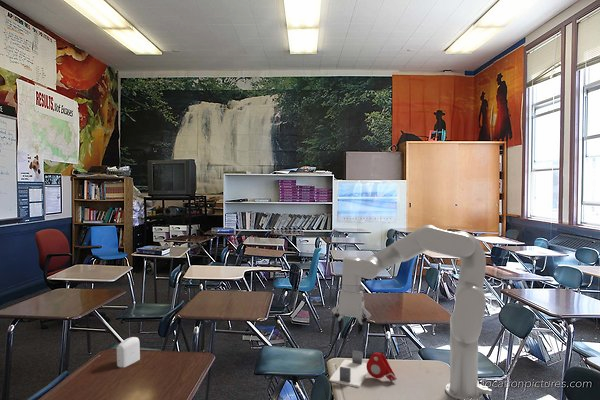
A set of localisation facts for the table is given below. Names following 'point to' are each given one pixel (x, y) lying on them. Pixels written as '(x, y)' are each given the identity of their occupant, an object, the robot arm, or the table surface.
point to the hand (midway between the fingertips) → (350, 331)
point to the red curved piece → (380, 367)
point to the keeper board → (351, 371)
